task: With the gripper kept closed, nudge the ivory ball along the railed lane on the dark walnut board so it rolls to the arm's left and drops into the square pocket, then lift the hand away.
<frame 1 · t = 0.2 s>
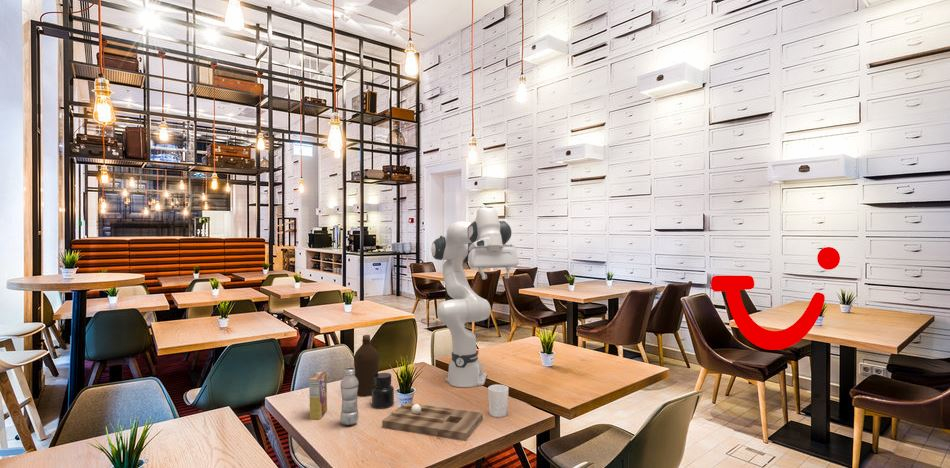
hand: (496, 278, 173), 52 cm above the table, tool tilted 20°, fingers open, 8 cm apart
board: (433, 423, 163), on the table
ink bottle: (382, 405, 181), on the table
ball: (416, 409, 165), point 4 cm above the table, touching board
plastic bottle: (349, 424, 163), on the table
white cup: (498, 414, 172), on the table
olive oil: (366, 393, 195), on the table
candy box: (318, 415, 171), on the table
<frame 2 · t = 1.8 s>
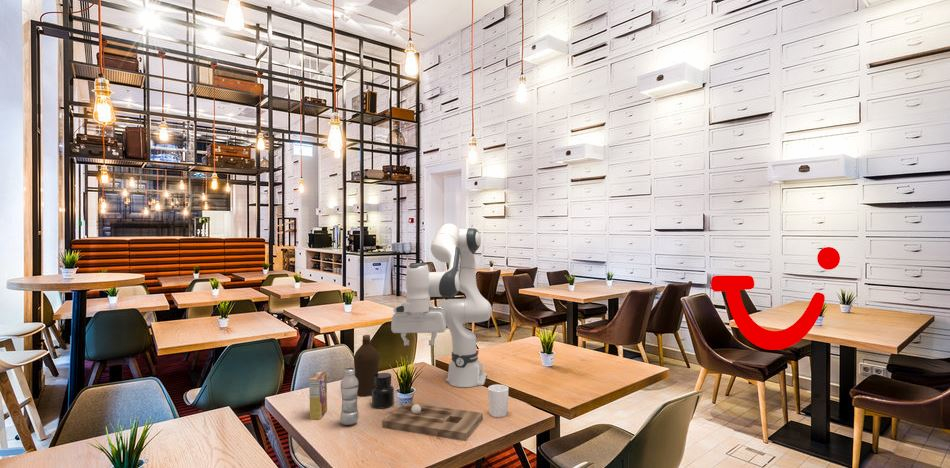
hand: (419, 345, 164), 28 cm above the table, tool pointing down, fingers open, 8 cm apart
nothing on the table moved.
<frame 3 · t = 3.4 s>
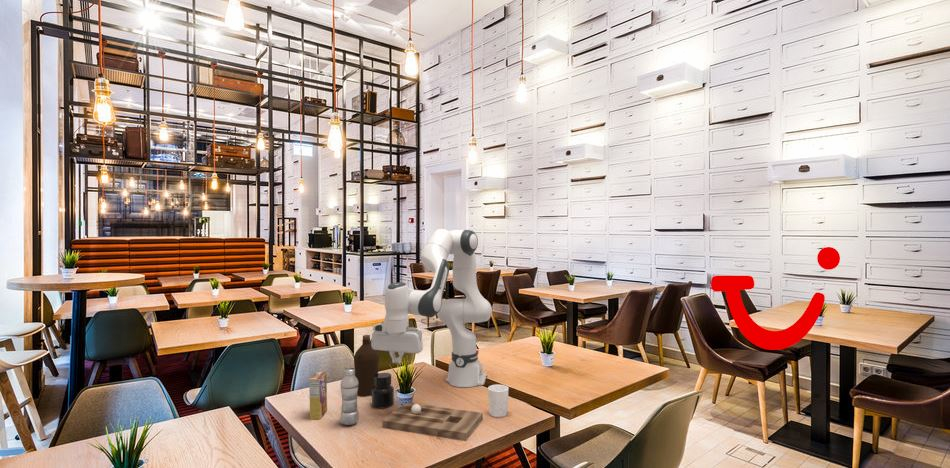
hand: (396, 363, 168), 21 cm above the table, tool pointing down, fingers closed
nothing on the table moved.
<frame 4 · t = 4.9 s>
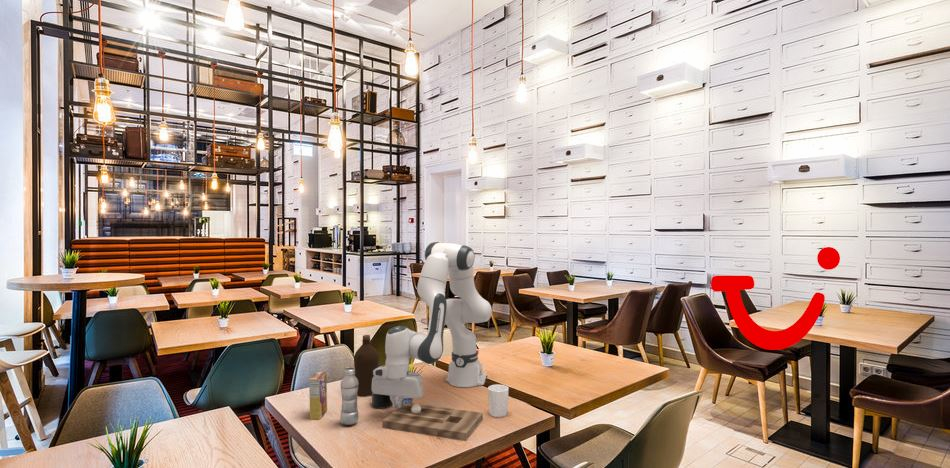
hand: (397, 407, 168), 4 cm above the table, tool pointing down, fingers closed
nothing on the table moved.
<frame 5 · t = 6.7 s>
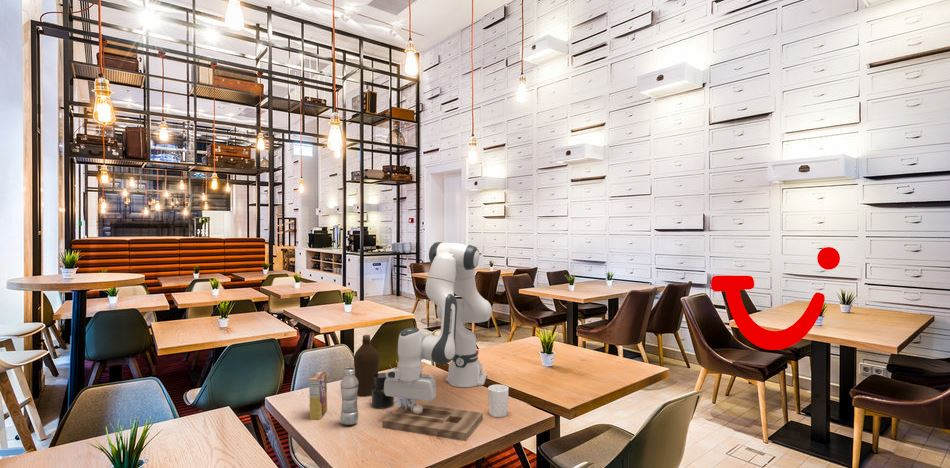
hand: (409, 409, 166), 4 cm above the table, tool pointing down, fingers closed
ball: (417, 409, 165), point 4 cm above the table, tilted 21°, touching board, gripper
everything else where it was.
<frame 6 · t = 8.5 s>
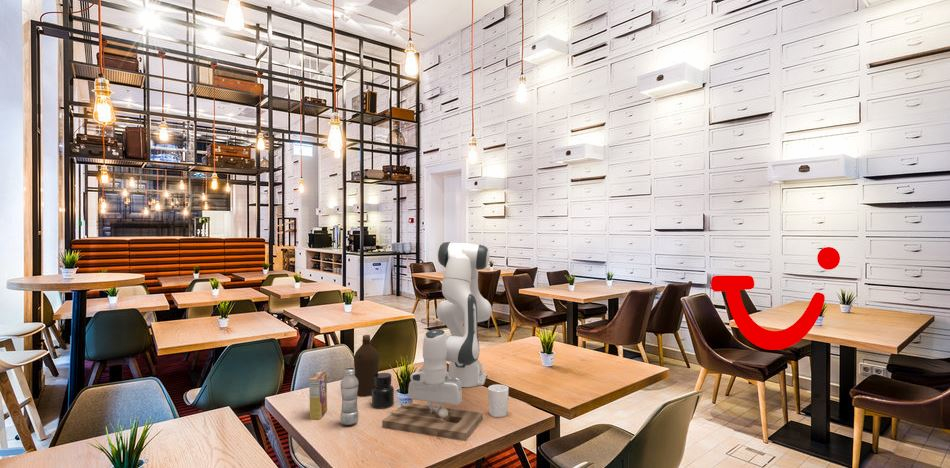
hand: (435, 413, 163), 4 cm above the table, tool pointing down, fingers closed
ball: (443, 413, 162), point 4 cm above the table, tilted 12°, touching board
everything else where it was.
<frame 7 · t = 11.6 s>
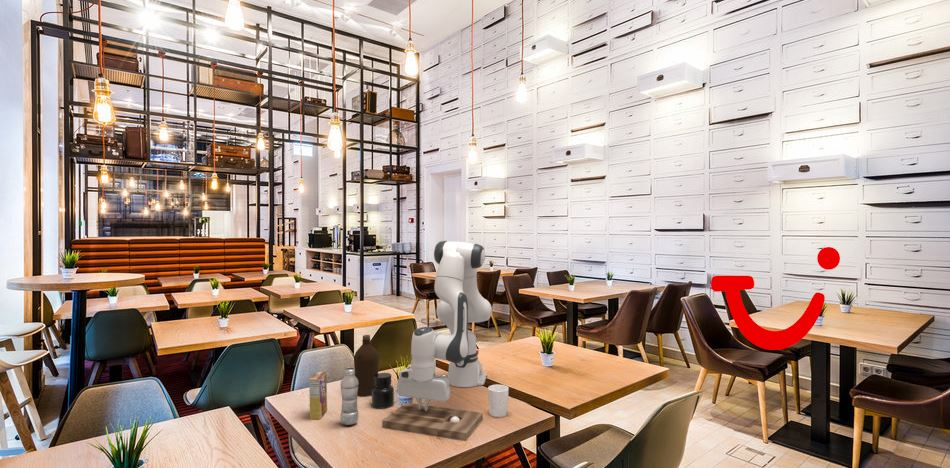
hand: (423, 409, 165), 4 cm above the table, tool pointing down, fingers closed
ball: (454, 421, 160), point 2 cm above the table, tilted 163°
everything else where it was.
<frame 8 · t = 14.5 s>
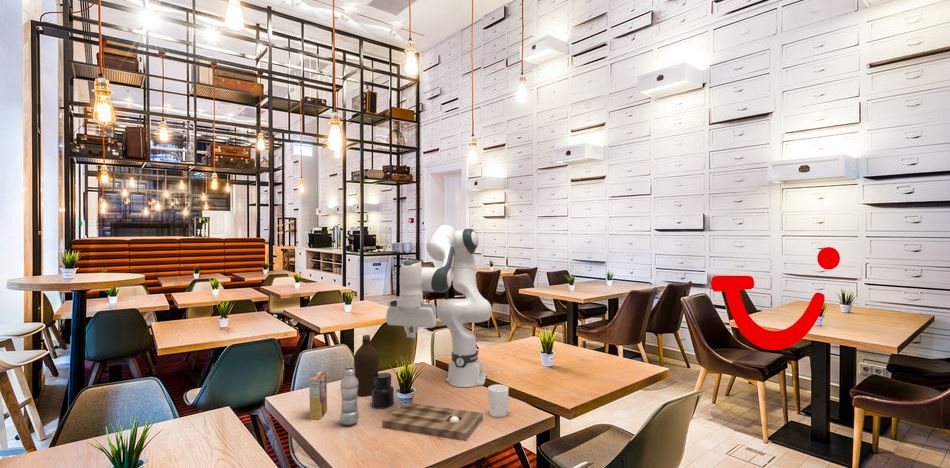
hand: (411, 337, 173), 29 cm above the table, tool pointing down, fingers closed
ball: (454, 421, 160), point 2 cm above the table, tilted 156°
everything else where it was.
at the end: ball 0.3 cm from the target spot, point 1.8 cm above the table; ball point 1.8 cm above the table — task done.
